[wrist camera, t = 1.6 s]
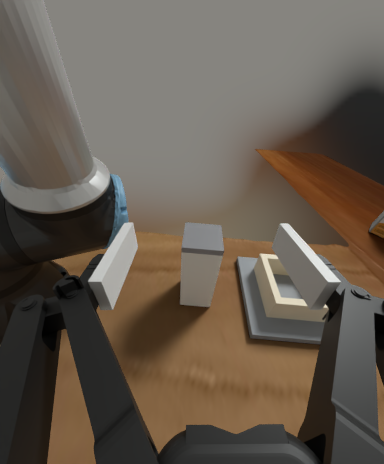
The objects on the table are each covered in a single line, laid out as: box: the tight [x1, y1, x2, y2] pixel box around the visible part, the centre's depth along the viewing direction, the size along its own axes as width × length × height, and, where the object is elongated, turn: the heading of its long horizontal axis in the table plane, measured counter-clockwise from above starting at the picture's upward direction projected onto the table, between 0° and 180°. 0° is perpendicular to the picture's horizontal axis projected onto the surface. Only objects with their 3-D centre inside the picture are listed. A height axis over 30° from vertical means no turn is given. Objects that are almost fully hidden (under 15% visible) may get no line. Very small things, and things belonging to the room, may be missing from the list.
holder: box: [236, 254, 329, 344], centre depth 36 cm, size 18×18×6 cm
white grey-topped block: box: [180, 223, 224, 307], centre depth 32 cm, size 6×6×16 cm
